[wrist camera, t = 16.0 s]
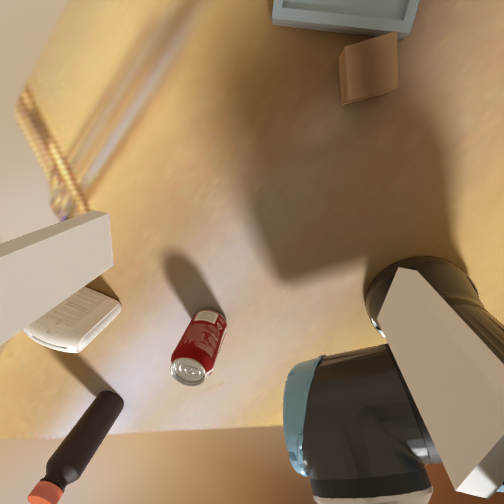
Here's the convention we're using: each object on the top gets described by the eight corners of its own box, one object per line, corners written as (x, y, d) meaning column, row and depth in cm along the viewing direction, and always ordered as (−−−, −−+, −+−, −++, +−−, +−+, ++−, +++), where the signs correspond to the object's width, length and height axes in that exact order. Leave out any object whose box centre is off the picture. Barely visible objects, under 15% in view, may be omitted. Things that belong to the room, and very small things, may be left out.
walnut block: (382, 46, 31) (397, 30, 26) (383, 94, 32) (398, 87, 28) (337, 59, 32) (344, 46, 27) (341, 105, 34) (348, 100, 29)
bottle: (98, 387, 63) (20, 487, 45) (125, 396, 63) (57, 500, 45) (98, 404, 66) (23, 506, 48) (123, 413, 66) (58, 518, 48)
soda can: (197, 302, 49) (169, 349, 38) (231, 314, 49) (214, 364, 38) (190, 329, 52) (163, 380, 41) (223, 340, 52) (204, 394, 41)
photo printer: (72, 297, 53) (13, 340, 42) (74, 280, 51) (13, 320, 40) (120, 316, 53) (74, 364, 42) (124, 300, 51) (76, 346, 40)
